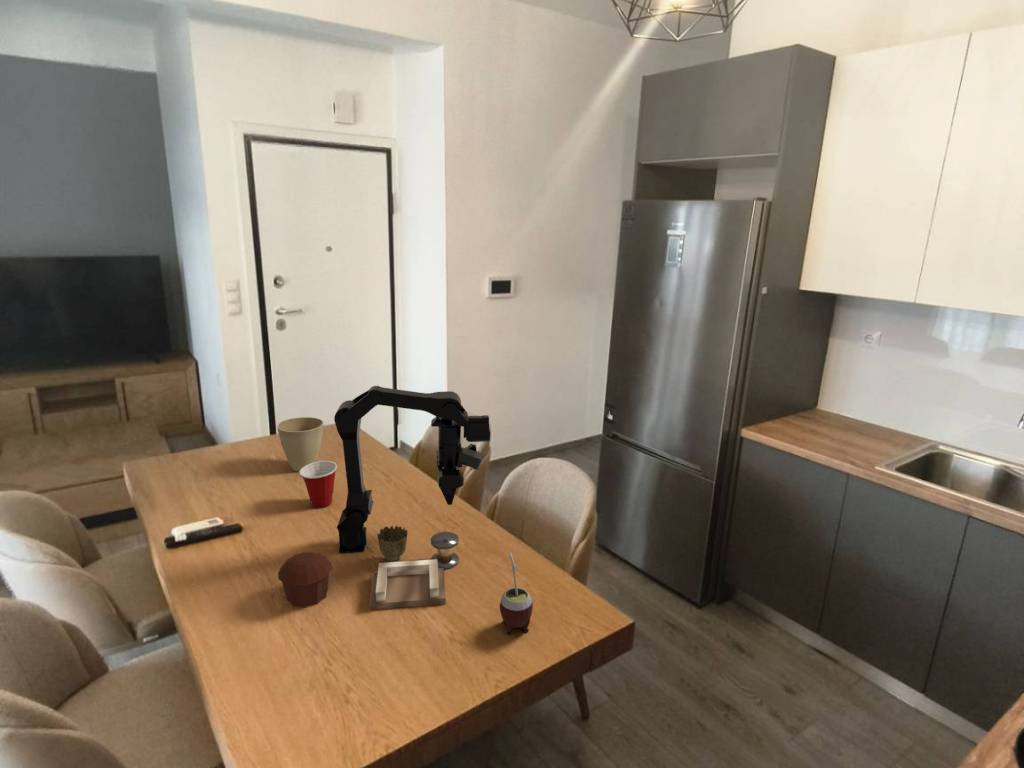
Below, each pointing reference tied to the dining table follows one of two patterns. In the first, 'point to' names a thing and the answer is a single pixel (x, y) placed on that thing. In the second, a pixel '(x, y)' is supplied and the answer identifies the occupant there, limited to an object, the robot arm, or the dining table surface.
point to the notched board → (407, 584)
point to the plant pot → (301, 440)
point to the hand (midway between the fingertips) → (448, 496)
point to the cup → (392, 542)
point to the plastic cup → (319, 482)
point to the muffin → (305, 578)
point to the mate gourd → (516, 606)
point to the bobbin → (445, 549)
